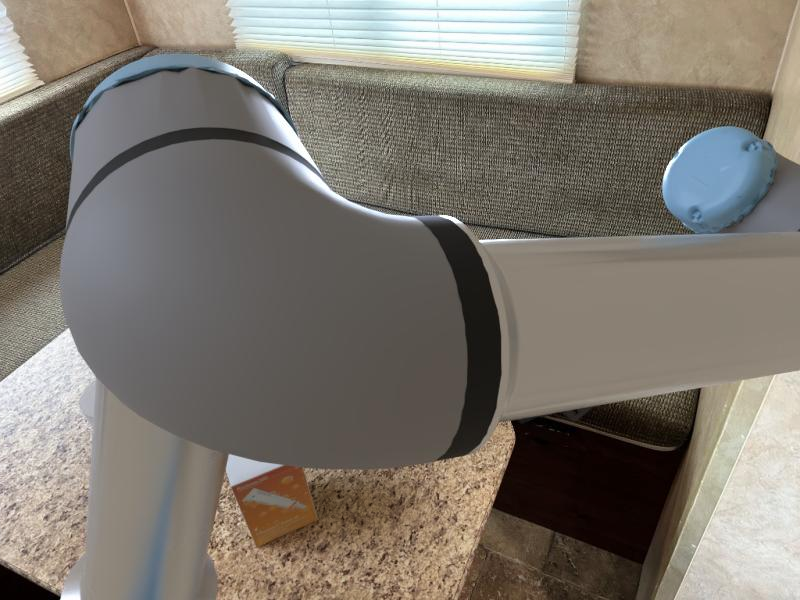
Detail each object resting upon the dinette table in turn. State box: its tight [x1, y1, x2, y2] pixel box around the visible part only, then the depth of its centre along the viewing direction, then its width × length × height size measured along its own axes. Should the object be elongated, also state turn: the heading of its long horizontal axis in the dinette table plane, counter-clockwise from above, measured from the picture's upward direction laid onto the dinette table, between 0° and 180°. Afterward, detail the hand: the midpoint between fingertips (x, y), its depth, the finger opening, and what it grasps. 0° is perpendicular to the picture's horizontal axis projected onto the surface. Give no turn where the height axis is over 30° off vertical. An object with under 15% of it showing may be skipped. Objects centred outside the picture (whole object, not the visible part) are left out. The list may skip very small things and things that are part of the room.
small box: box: [225, 454, 319, 548], centre depth 72 cm, size 8×6×13 cm
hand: (523, 370), depth 72 cm, fingers open, 13 cm apart
